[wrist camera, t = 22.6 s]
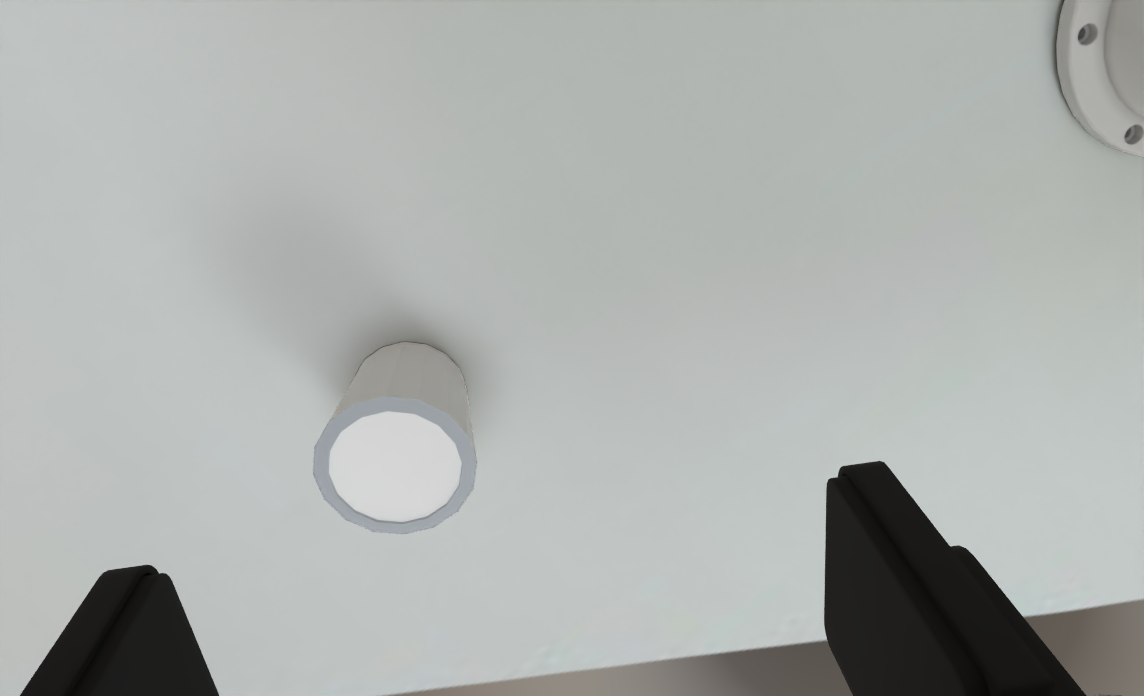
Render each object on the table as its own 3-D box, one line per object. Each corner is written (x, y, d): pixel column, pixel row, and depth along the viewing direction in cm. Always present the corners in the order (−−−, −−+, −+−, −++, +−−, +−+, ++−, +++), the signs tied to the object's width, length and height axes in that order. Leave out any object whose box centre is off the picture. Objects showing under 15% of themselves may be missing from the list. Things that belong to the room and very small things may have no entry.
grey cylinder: (439, 307, 39) (429, 371, 33) (502, 419, 42) (504, 498, 36) (312, 365, 40) (278, 438, 33) (383, 472, 43) (364, 558, 36)
